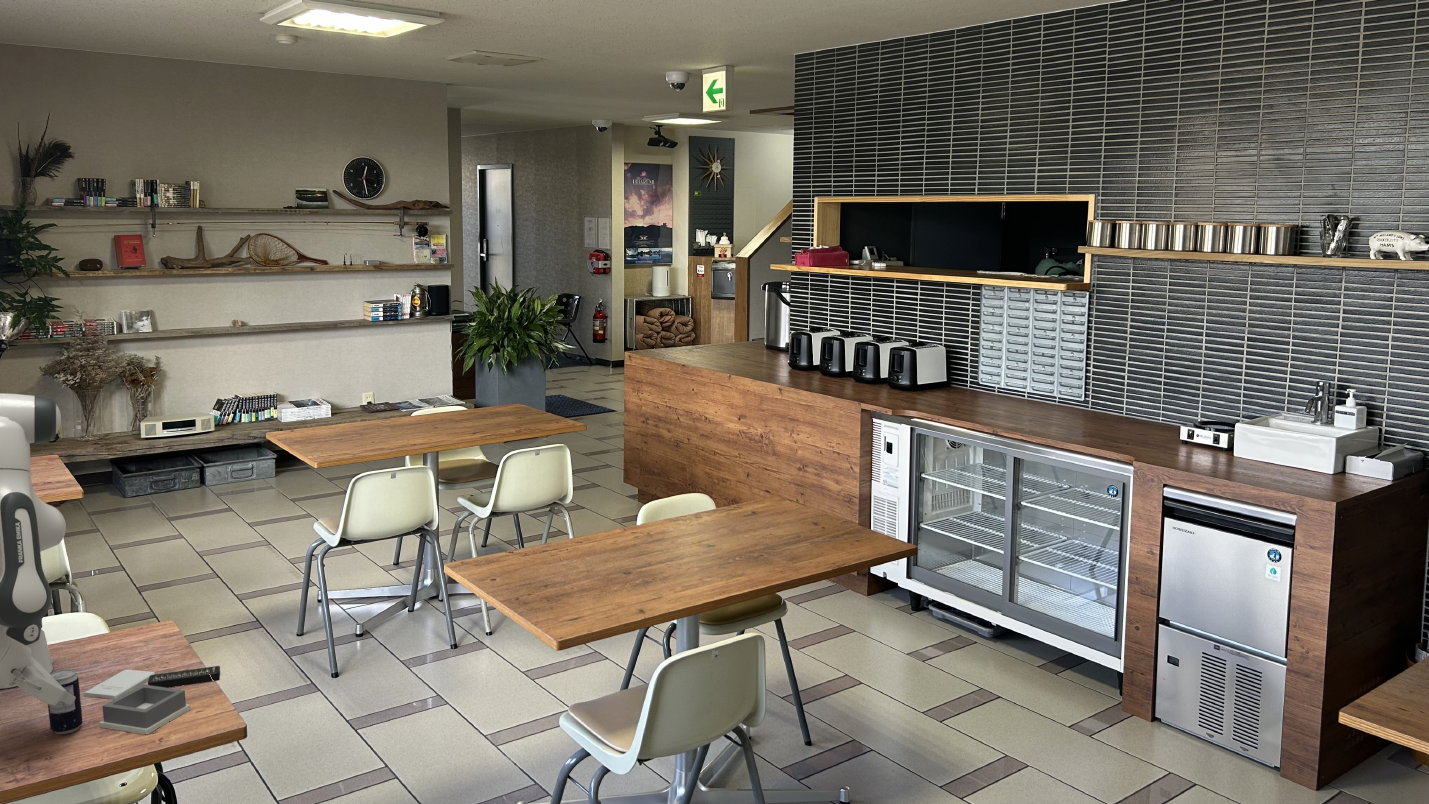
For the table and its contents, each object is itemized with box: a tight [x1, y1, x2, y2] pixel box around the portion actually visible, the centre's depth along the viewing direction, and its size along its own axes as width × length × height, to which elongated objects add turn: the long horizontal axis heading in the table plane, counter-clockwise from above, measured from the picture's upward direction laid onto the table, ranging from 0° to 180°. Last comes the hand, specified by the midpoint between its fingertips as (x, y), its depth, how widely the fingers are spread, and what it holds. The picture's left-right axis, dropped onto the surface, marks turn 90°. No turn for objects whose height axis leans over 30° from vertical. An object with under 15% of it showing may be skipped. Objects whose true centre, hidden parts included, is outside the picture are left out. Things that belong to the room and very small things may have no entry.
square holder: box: [98, 683, 192, 735], centre depth 221 cm, size 12×12×4 cm
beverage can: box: [47, 668, 84, 735], centre depth 214 cm, size 6×6×12 cm
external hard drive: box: [82, 668, 156, 701], centre depth 236 cm, size 2×8×12 cm
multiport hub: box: [147, 665, 221, 688], centre depth 239 cm, size 4×14×2 cm, turn 112°
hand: (67, 694), depth 215 cm, fingers closed on beverage can, 6 cm apart
